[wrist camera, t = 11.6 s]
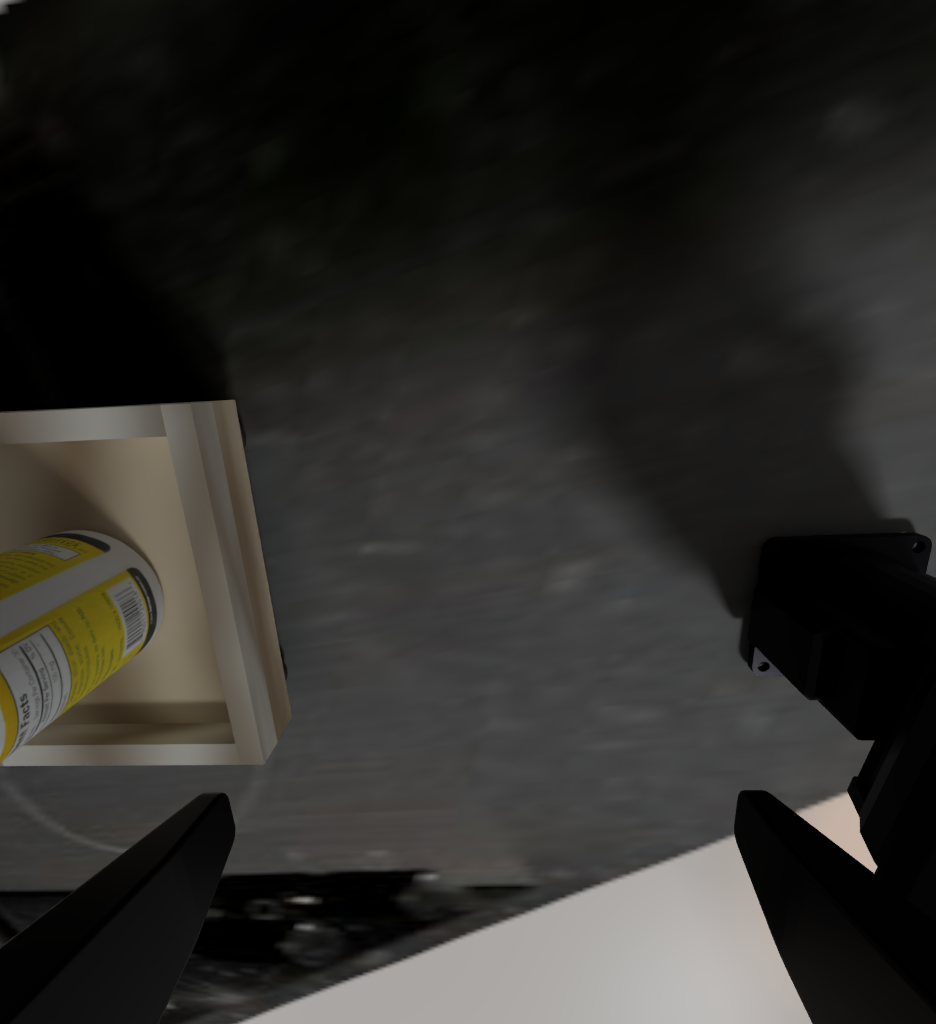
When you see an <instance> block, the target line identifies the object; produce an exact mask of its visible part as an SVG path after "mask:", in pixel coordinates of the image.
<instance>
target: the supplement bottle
mask: <svg viewBox="0 0 936 1024" xmlns="http://www.w3.org/2000/svg"><path fill="white" fill-rule="evenodd" d="M163 616H164V598H163V593H162V589H161V586H160V583H159V581H158V579H157V577H156V575H155V574H154V572H153V571H152V569H151V568H150V566H149V565H148V564H147V563H146V561H145V560H144V559H143V558H142V557H141V556H140V555H139V554H137V553H136V552H135V551H134V550H133V549H131V548H130V547H129V546H127V545H126V544H124V543H122V542H121V541H119V540H117V539H115V538H112V537H110V536H107V535H105V534H102V533H98V532H94V531H87V530H70V531H64V532H60V533H56V534H53V535H49V536H46V537H43V538H41V539H38V540H36V541H33V542H30V543H27V544H24V545H22V546H19V547H17V548H14V549H11V550H9V551H6V552H3V553H1V554H0V763H1V762H3V761H4V760H5V759H6V758H7V757H9V756H10V755H11V754H12V753H14V752H15V751H16V750H18V749H19V748H20V747H21V746H23V745H24V744H25V743H26V742H28V741H29V740H30V739H31V738H33V737H34V736H35V735H36V734H38V733H39V732H40V731H41V730H43V729H44V728H45V727H46V726H48V725H49V724H50V723H52V722H53V721H54V720H55V719H57V718H58V717H59V716H60V715H62V714H63V713H64V712H65V711H67V710H68V709H69V708H70V707H72V706H73V705H74V704H75V703H77V702H78V701H79V700H80V699H82V698H83V697H84V696H85V695H87V694H88V693H89V692H91V691H92V690H93V689H94V688H95V687H97V686H98V685H99V684H101V683H102V682H103V681H104V680H106V679H107V678H108V677H109V676H111V675H112V674H113V673H114V672H116V671H117V670H118V669H119V668H121V667H122V666H123V665H124V664H126V663H127V662H128V661H129V660H131V659H132V658H133V657H134V656H136V655H137V654H138V653H139V652H140V651H142V650H143V649H144V648H145V647H146V646H147V645H148V644H149V643H150V642H151V641H152V639H153V638H154V637H155V636H156V634H157V633H158V631H159V629H160V627H161V624H162V621H163Z"/></svg>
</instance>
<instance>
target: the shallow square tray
mask: <svg viewBox="0 0 936 1024" xmlns="http://www.w3.org/2000/svg"><path fill="white" fill-rule="evenodd" d="M245 446H246V435H245V432H244V430H243V428H242V426H241V425H240V424H239V420H238V414H237V409H236V403H235V400H220V401H201V402H182V403H162V404H143V405H124V406H104V407H85V408H66V409H46V410H27V411H8V412H0V554H1V553H3V552H6V551H9V550H11V549H14V548H17V547H19V546H22V545H24V544H27V543H30V542H33V541H36V540H38V539H41V538H43V537H46V536H49V535H53V534H56V533H60V532H64V531H70V530H87V531H94V532H98V533H102V534H105V535H107V536H110V537H112V538H115V539H117V540H119V541H121V542H122V543H124V544H126V545H127V546H129V547H130V548H131V549H133V550H134V551H135V552H136V553H137V554H139V555H140V556H141V557H142V558H143V559H144V560H145V561H146V563H147V564H148V565H149V566H150V568H151V569H152V571H153V572H154V574H155V575H156V577H157V579H158V581H159V583H160V586H161V589H162V593H163V598H164V616H163V621H162V624H161V627H160V629H159V631H158V633H157V634H156V636H155V637H154V638H153V639H152V641H151V642H150V643H149V644H148V645H147V646H146V647H145V648H144V649H143V650H142V651H140V652H139V653H138V654H137V655H136V656H134V657H133V658H132V659H131V660H129V661H128V662H127V663H126V664H124V665H123V666H122V667H121V668H119V669H118V670H117V671H116V672H114V673H113V674H112V675H111V676H109V677H108V678H107V679H106V680H104V681H103V682H102V683H101V684H99V685H98V686H97V687H95V688H94V689H93V690H92V691H91V692H89V693H88V694H87V695H85V696H84V697H83V698H82V699H80V700H79V701H78V702H77V703H75V704H74V705H73V706H72V707H70V708H69V709H68V710H67V711H65V712H64V713H63V714H62V715H60V716H59V717H58V718H57V719H55V720H54V721H53V722H52V723H50V724H49V725H48V726H46V727H45V728H44V729H43V730H41V731H40V732H39V733H38V734H36V735H35V736H34V737H33V738H31V739H30V740H29V741H28V742H26V743H25V744H24V745H23V746H21V747H20V748H19V749H18V750H16V751H15V752H14V753H12V754H11V755H10V756H9V757H7V758H6V759H5V760H4V761H3V762H1V763H0V766H100V765H264V764H265V763H266V761H267V759H268V758H269V756H270V754H271V752H272V751H273V749H274V747H275V746H276V744H277V742H278V741H279V739H280V737H281V735H282V734H283V732H284V730H285V729H286V727H287V725H288V723H289V722H290V720H291V718H292V714H291V709H290V703H289V698H288V692H287V687H286V679H287V667H286V665H285V663H284V661H283V660H282V659H281V653H280V648H279V642H278V637H277V631H276V625H275V620H274V614H273V609H272V603H271V598H270V592H269V587H268V581H267V575H266V570H265V564H264V559H263V553H262V548H261V542H260V537H259V531H258V525H257V520H256V514H255V509H254V503H253V498H252V492H251V486H250V481H249V475H248V470H247V464H246V459H245V453H244V449H245Z"/></svg>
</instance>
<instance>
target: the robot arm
mask: <svg viewBox="0 0 936 1024" xmlns="http://www.w3.org/2000/svg"><path fill="white" fill-rule="evenodd" d="M916 542H917V545H916V547H914V548H913V549H912V547H913V545H914V544H915V543H916ZM777 546H780V550H779V551H778V552H777V553H775V554H773V551H774V549H775V548H776V547H777ZM931 548H932V542H931V540H930V539H929V538H928V537H926V536H924V535H921V534H918V533H885V534H854V535H823V536H792V537H773V538H770V539H768V540H767V541H766V542H765V543H764V544H763V547H762V552H761V560H760V567H759V575H758V583H757V586H756V587H755V589H754V592H753V600H752V608H751V616H750V624H749V632H748V640H749V641H750V647H749V655H748V666H749V668H750V669H751V670H752V671H753V672H754V674H756V675H758V676H762V677H768V676H785V677H786V678H787V679H788V680H789V681H790V682H791V683H792V684H793V685H794V686H795V687H796V688H797V689H798V690H799V691H800V692H801V693H802V694H803V695H804V696H805V697H806V698H807V699H809V700H818V701H819V702H820V703H821V704H822V705H823V706H824V707H825V708H826V709H827V710H828V711H829V712H830V713H831V714H832V715H833V716H834V717H835V718H836V719H837V720H838V721H839V722H840V723H841V724H842V725H843V726H844V727H845V728H846V729H847V730H848V731H849V732H850V733H851V734H852V735H853V736H854V737H856V738H857V739H858V740H875V741H874V743H873V745H872V747H871V750H870V752H869V754H868V756H867V758H866V760H865V762H864V764H863V767H862V769H861V771H860V773H859V775H858V777H857V776H855V777H853V778H852V780H851V783H850V785H849V787H848V789H847V791H848V794H849V796H850V798H851V800H852V802H853V804H854V806H855V809H856V811H857V813H858V815H859V817H860V833H861V835H862V837H863V839H864V841H865V843H866V845H867V848H868V850H869V852H870V854H871V856H872V858H873V860H874V862H875V863H876V865H877V866H878V867H877V869H876V871H875V874H874V873H873V872H871V871H870V870H869V869H867V868H866V867H865V866H864V865H862V864H861V863H860V862H858V861H857V860H856V859H855V858H853V857H852V856H850V855H849V854H848V853H847V852H845V851H844V850H843V849H842V848H840V847H839V846H838V845H836V844H835V843H834V842H832V841H831V840H830V839H828V838H827V837H826V836H825V835H823V834H822V833H821V832H819V831H818V830H817V829H816V828H814V827H813V826H812V825H810V824H809V823H808V822H807V821H805V820H804V819H803V818H801V817H800V816H799V815H797V814H796V813H795V812H794V811H792V810H791V809H790V808H788V807H787V806H786V805H785V804H783V803H782V802H781V801H779V800H778V799H777V798H776V797H774V796H773V795H772V794H770V793H768V792H767V791H764V790H743V791H741V792H740V793H739V795H738V800H737V808H736V815H735V823H734V833H735V838H736V842H737V845H738V848H739V850H740V853H741V855H742V858H743V861H744V863H745V866H746V868H747V871H748V874H749V877H750V879H751V882H752V884H753V887H754V890H755V892H756V894H757V897H758V900H759V903H760V905H761V908H762V911H763V913H764V916H765V918H766V921H767V924H768V926H769V929H770V931H771V934H772V937H773V939H774V941H775V944H776V946H777V949H778V951H779V954H780V956H781V958H782V960H783V962H784V965H785V967H786V969H787V971H788V974H789V976H790V978H791V980H792V982H793V984H794V986H795V988H796V990H797V992H798V994H799V996H800V998H801V1001H802V1003H803V1005H804V1007H805V1009H806V1011H807V1013H808V1015H809V1017H810V1019H811V1021H812V1023H813V1024H936V578H935V577H932V576H930V575H928V574H926V570H927V565H928V561H929V557H930V552H931ZM762 662H764V664H763V665H762V666H759V664H760V663H762ZM758 666H759V667H758ZM234 838H235V823H234V819H233V815H232V810H231V806H230V802H229V798H228V796H227V795H226V794H225V793H222V792H213V793H203V794H201V795H199V796H197V797H196V798H195V799H193V800H192V801H191V802H190V803H188V804H187V805H186V806H184V807H183V808H182V809H180V810H179V811H178V812H176V813H175V814H174V815H173V816H171V817H170V818H169V819H167V820H166V821H165V822H163V823H162V824H161V825H159V826H158V827H157V828H156V829H154V830H153V831H152V832H150V833H149V834H148V835H146V836H145V837H144V838H143V839H141V840H140V841H139V842H137V843H136V844H135V845H133V846H132V847H131V848H129V849H128V850H127V851H126V852H124V853H123V854H122V855H120V856H119V857H118V858H116V859H115V860H114V861H112V862H111V863H110V864H109V865H107V866H106V867H105V868H103V869H102V870H101V871H99V872H98V873H97V874H96V875H94V876H93V877H92V878H90V879H89V880H88V881H86V882H85V883H84V884H82V885H81V886H80V887H79V888H77V889H76V890H75V891H73V892H72V893H71V894H69V895H68V896H67V897H65V898H64V899H63V900H62V901H60V902H59V903H58V904H56V905H55V906H54V907H52V908H51V909H50V910H48V911H47V912H46V913H45V914H43V915H42V916H41V917H39V918H38V919H37V920H35V921H34V922H33V923H32V924H30V925H29V926H28V927H26V928H25V929H24V930H22V931H21V932H20V933H18V934H17V935H16V936H15V937H13V938H12V939H11V940H9V941H8V942H7V943H5V944H4V945H3V946H1V947H0V1024H159V1022H160V1019H161V1017H162V1015H163V1013H164V1011H165V1009H166V1007H167V1004H168V1002H169V1000H170V998H171V996H172V994H173V992H174V989H175V987H176V985H177V983H178V981H179V979H180V977H181V974H182V972H183V970H184V968H185V966H186V964H187V961H188V959H189V957H190V955H191V952H192V950H193V948H194V946H195V943H196V941H197V938H198V936H199V933H200V931H201V928H202V926H203V923H204V920H205V918H206V915H207V912H208V909H209V907H210V904H211V901H212V899H213V896H214V893H215V891H216V888H217V885H218V883H219V880H220V877H221V875H222V872H223V869H224V867H225V864H226V861H227V858H228V856H229V853H230V850H231V848H232V845H233V842H234Z"/></svg>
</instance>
